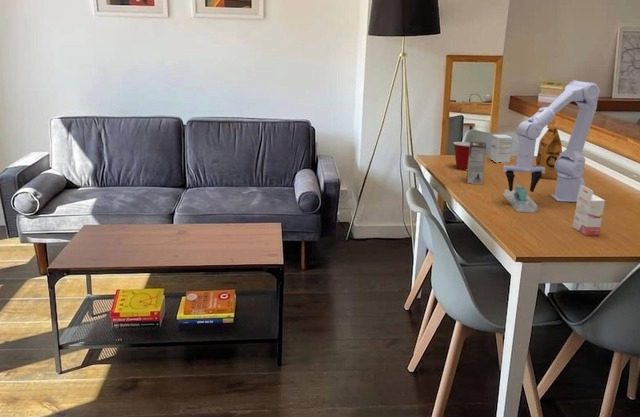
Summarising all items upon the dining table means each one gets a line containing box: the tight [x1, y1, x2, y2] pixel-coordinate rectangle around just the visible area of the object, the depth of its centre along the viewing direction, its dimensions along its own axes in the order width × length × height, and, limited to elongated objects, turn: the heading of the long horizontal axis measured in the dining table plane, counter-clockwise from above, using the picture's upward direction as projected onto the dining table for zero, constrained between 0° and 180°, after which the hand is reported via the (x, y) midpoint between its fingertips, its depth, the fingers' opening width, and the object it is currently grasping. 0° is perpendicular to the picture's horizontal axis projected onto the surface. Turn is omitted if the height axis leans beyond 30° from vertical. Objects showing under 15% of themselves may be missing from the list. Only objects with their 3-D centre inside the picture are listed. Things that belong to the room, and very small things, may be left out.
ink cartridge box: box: [572, 185, 606, 236], centre depth 188 cm, size 9×5×15 cm, turn 5°
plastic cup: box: [452, 141, 470, 170], centre depth 266 cm, size 11×11×12 cm
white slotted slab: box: [503, 189, 539, 213], centre depth 217 cm, size 7×20×2 cm, turn 176°
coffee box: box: [466, 141, 487, 185], centre depth 244 cm, size 9×6×16 cm
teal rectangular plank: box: [514, 184, 528, 201], centre depth 217 cm, size 2×8×6 cm, turn 177°
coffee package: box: [535, 123, 563, 180], centre depth 254 cm, size 10×12×22 cm
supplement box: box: [489, 134, 514, 163], centre depth 280 cm, size 7×7×13 cm
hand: (521, 191), depth 216 cm, fingers open, 7 cm apart
